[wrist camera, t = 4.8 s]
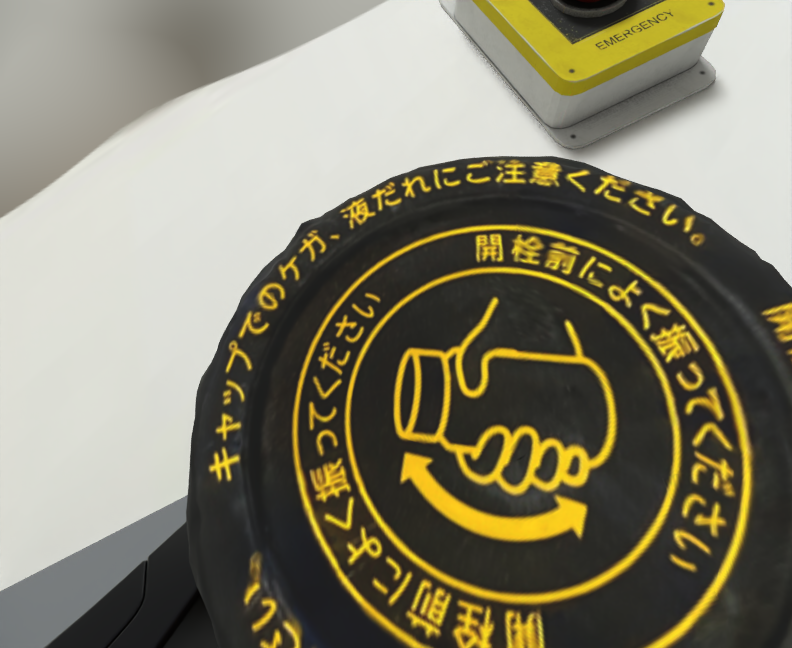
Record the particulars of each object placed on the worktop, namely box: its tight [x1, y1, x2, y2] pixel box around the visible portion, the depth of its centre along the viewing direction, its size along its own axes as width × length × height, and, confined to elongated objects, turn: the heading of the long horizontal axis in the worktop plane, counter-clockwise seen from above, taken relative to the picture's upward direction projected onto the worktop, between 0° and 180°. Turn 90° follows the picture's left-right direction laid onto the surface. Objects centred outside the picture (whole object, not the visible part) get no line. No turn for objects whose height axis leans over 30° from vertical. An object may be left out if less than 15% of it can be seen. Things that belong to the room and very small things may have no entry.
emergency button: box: [439, 0, 725, 149], centre depth 21 cm, size 9×4×15 cm
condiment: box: [186, 156, 792, 648], centre depth 8 cm, size 7×8×12 cm
